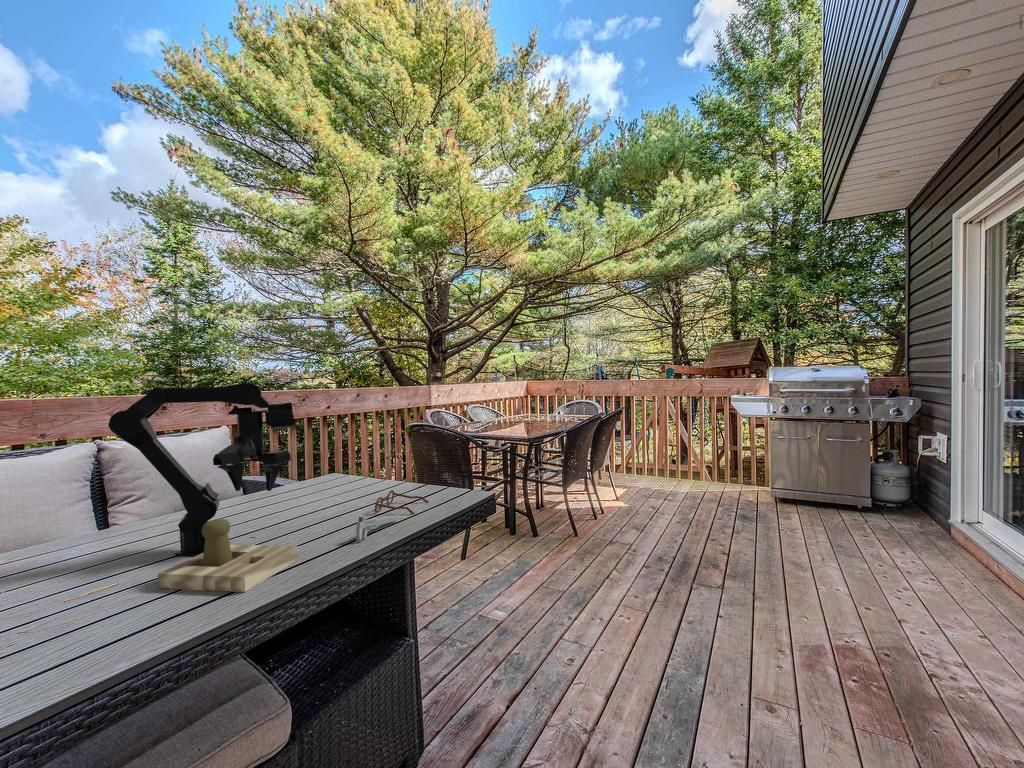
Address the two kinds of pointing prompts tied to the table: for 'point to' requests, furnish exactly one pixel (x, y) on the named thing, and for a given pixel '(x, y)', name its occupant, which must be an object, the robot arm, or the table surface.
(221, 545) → the olive knobbed peg
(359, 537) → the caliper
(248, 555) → the block
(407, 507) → the glasses
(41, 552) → the table surface
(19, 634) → the table surface
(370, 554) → the table surface
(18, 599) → the table surface
